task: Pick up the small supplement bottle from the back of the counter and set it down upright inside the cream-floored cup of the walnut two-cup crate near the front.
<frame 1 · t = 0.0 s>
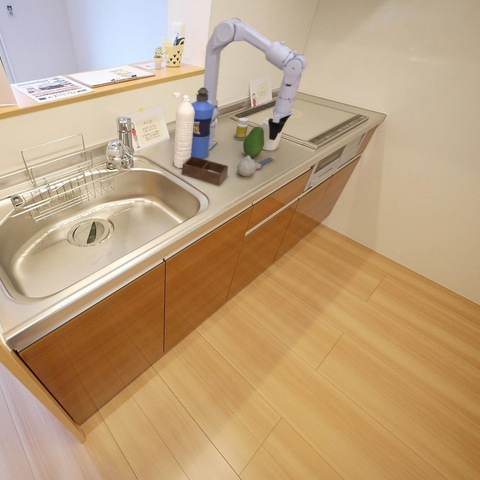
hand: (274, 135, 104), 10 cm above the counter, tool pointing down, fingers open, 7 cm apart
mug: (269, 146, 121), on the counter
fruit: (250, 156, 114), on the counter
figurine: (244, 174, 102), on the counter, touching wristwatch
water bottle: (179, 164, 109), on the counter
water bottle 2: (196, 154, 115), on the counter
wristwatch: (255, 167, 107), on the counter, touching figurine
crate: (204, 175, 102), on the counter
supplement bottle: (239, 138, 127), on the counter
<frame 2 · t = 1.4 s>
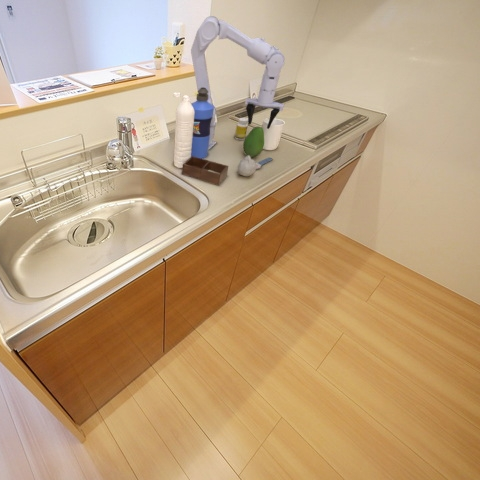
hand: (258, 125, 112), 10 cm above the counter, tool pointing down, fingers open, 7 cm apart
mug: (269, 146, 121), on the counter, touching gripper
figurine: (244, 174, 102), on the counter, touching wristwatch
everything else where it was.
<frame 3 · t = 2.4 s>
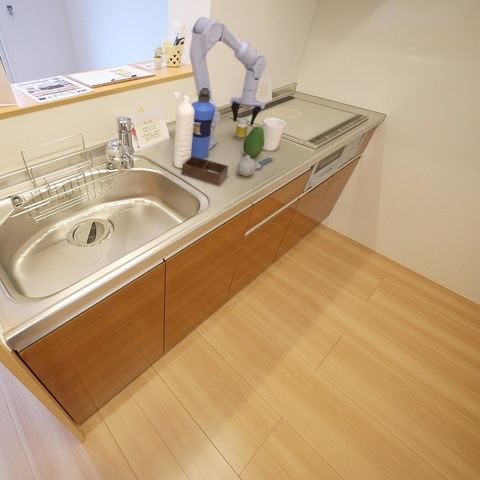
hand: (243, 122, 122), 7 cm above the counter, tool pointing down, fingers open, 7 cm apart
mug: (269, 145, 121), on the counter
figurine: (244, 174, 102), on the counter, touching wristwatch
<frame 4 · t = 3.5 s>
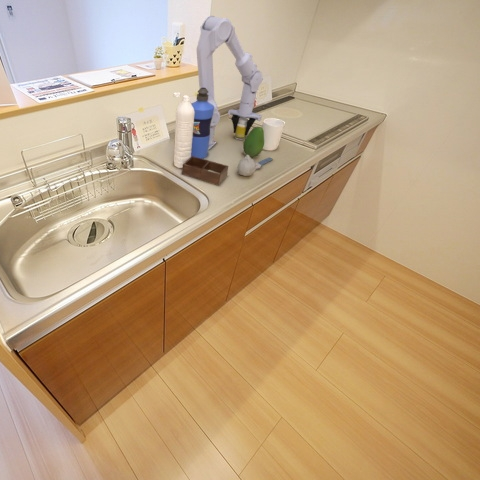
hand: (240, 133, 125), 2 cm above the counter, tool pointing down, fingers closed on supplement bottle, 5 cm apart
water bottle 2: (196, 154, 115), on the counter, touching arm
supplement bottle: (239, 138, 127), on the counter, touching gripper
everything else where it was.
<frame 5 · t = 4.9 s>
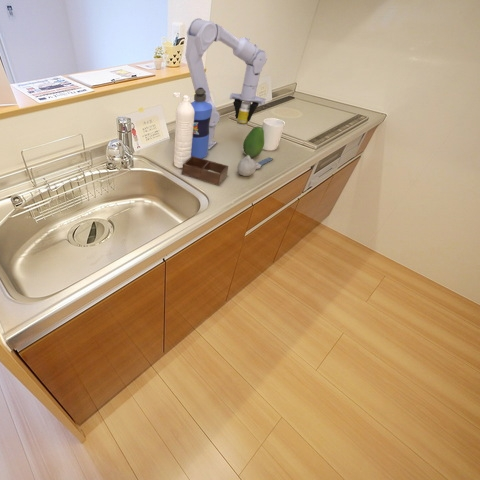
hand: (242, 119, 120), 9 cm above the counter, tool pointing down, fingers closed on supplement bottle, 5 cm apart
supplement bottle: (241, 124, 121), point 7 cm above the counter, touching gripper
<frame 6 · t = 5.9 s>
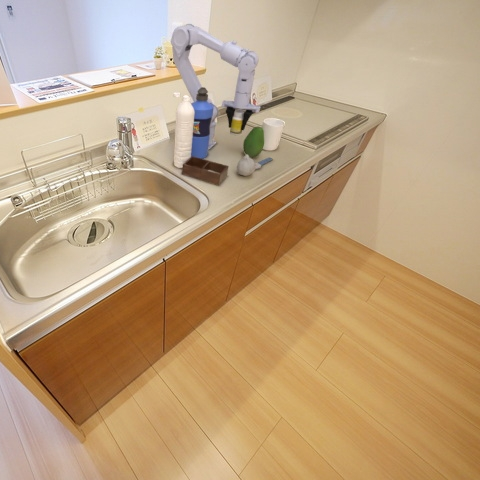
hand: (236, 128, 111), 9 cm above the counter, tool pointing down, fingers closed on supplement bottle, 5 cm apart
water bottle 2: (196, 154, 115), on the counter
supplement bottle: (235, 133, 113), point 7 cm above the counter, touching gripper
everything else where it was.
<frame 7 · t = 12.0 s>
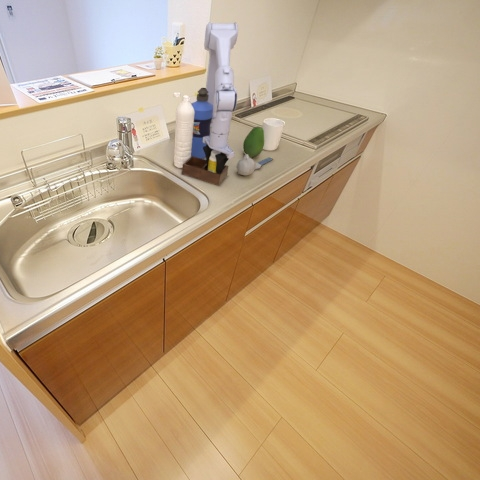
hand: (214, 168, 99), 4 cm above the counter, tool pointing down, fingers closed on supplement bottle, 5 cm apart
water bottle 2: (196, 154, 115), on the counter, touching arm
supplement bottle: (213, 174, 100), point 1 cm above the counter, touching gripper
everything else where it was.
when the fingers open (5 cm above the counter, at t = 16.1 s): supplement bottle drops 2 cm, resting on crate.
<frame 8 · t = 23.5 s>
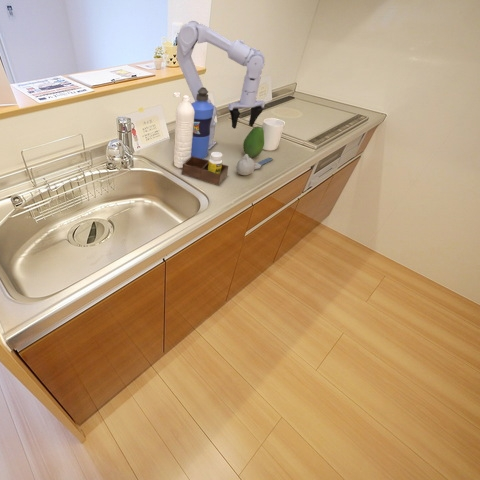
hand: (242, 126, 112), 9 cm above the counter, tool pointing down, fingers open, 7 cm apart
water bottle 2: (196, 154, 115), on the counter
supplement bottle: (213, 176, 101), point 1 cm above the counter, touching crate
everything else where it was.
at the end: supplement bottle 0.1 cm from the target spot in the crate, point 0.6 cm above the crate's base; supplement bottle tilted 0° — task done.
